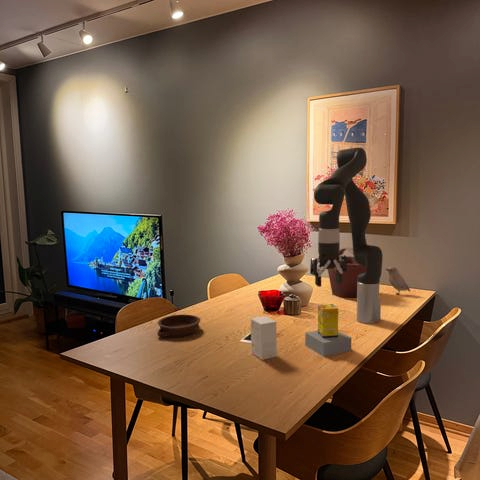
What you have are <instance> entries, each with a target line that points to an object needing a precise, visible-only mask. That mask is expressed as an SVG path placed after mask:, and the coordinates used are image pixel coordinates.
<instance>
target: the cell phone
mask: <svg viewBox="0 0 480 480" xmlns="http://www.w3.org/2000/svg"><path fill="white" fill-rule="evenodd" d="M239 342H240V343H245V344H250V343H251V332H249V333H248V334H247V335H246V336H244V337H243V338H242V339H241V340H239Z"/></svg>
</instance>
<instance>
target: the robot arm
mask: <svg viewBox="0 0 480 480" xmlns="http://www.w3.org/2000/svg"><path fill="white" fill-rule="evenodd" d="M366 153H367V152H366V151H365V148H362V147H359V146H357V147H351V148H346V149H340V150H338V151H337V152H336V164H337V167H338V168H336V170H334V171H333V172H332V173H331V174H330V176H329V178H326V179H325V180H324V181H321V182H320V183H319V184H318V185H317V186H316V187H315V189H314V192H313V198H314V200H315V201H314V202H316V203H317V204H318V205H324V206H325V205H332V207H331V209H329V210H326V211H320V213H319V216H318V236H317V239H318V242H317V247H318V248H317V249H318V250H317V253H318V257H317V258H315V257H311V258H310V268H309V269H310V270H309V273H310V275H313V276H314V278H315V279H314V280H315V281H314V283H315V285H316V287H318V288H319V287H322V274H323V273H324V272H325V271H326V270H328V269H330V268H332V269H333V268H334V269H335V271H336V272H337V273H336V283H337V284H341V282H342V273H343V272H344V271H345V272H346V271H347V259H346V257H347V256H346V255H344V254H343V255H340V256H339V253H340V249H341V247H340V246H341V245H340V243H341V242H340V238H341V236H340V214H341V210H342V206H343V203H344V200H345V203H346V204H345V205H346V211H347V216H348V221H349V225H350V232H351V241H352V249H353V254H352V255H353V257H354V259H355V262H356V263H357V264H359V265H362V266H367V268H366V272H365V273H362V274H359V275H358V278H357V299H356V321H358V322H359V323H362V324H377V323H378V322H380V321H381V315H382V314H381V313H382V312H381V311H382V310H381V309H382V308H381V307H382V306H381V305H382V300H381V299H380V281H381V280H380V279H381V276H382V270H383V251H382V249H381V248H380V247H379V246H377V245H371V244H370V245H369V244H367V240H366V230H367V228H368V226H369V223H370V221H371V217H372V211H371V205H370V201H369V199H368V197H367V195H366V194H365V193H364V192H363V191H362V190H361V189H360V188H359V187H358V185H357V184H356V183H355V181H354V178H355V177H356V176H357V175H358V174H359V173H361V171H363V170H364V169H365V168H366V166H367V161H368V159H367V154H366ZM338 261H340V266H339V264H338Z"/></svg>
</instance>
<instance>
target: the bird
mask: <svg viewBox="0 0 480 480" xmlns="http://www.w3.org/2000/svg"><path fill="white" fill-rule="evenodd" d="M384 269H385V271H387V272H388V273H387V275H388V276H387V277H388V281H389V283H390V285H391V286H392V287H393V288H394V289H395V290H397V292H395V294H396V296H400V295H401V292H402V291H404V292H406V291H408V292H409V293H411V289H410V287H409V286H408V284H407V282H406V281H405V278H404V277H403V275H402V274H401V273H400V271H399V270H398V269H397V268H396V267H395V266H389V267H388V268H384Z"/></svg>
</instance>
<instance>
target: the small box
mask: <svg viewBox="0 0 480 480" xmlns="http://www.w3.org/2000/svg"><path fill="white" fill-rule="evenodd" d="M250 333H251V344H250V350H251V351H250V352H251V354H253V355H255V356H256V357H257V358H258V359H260V360H263V361H265V360H268V359H271V358H276V357H277V356H278V354H277V353H278V352H277V351H278V350H277V347H278V346H277V343H278V341H277V321H275V320H274V319H272V318H270V317H268V316H266V315H262V316H257V317H251V318H250Z"/></svg>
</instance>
